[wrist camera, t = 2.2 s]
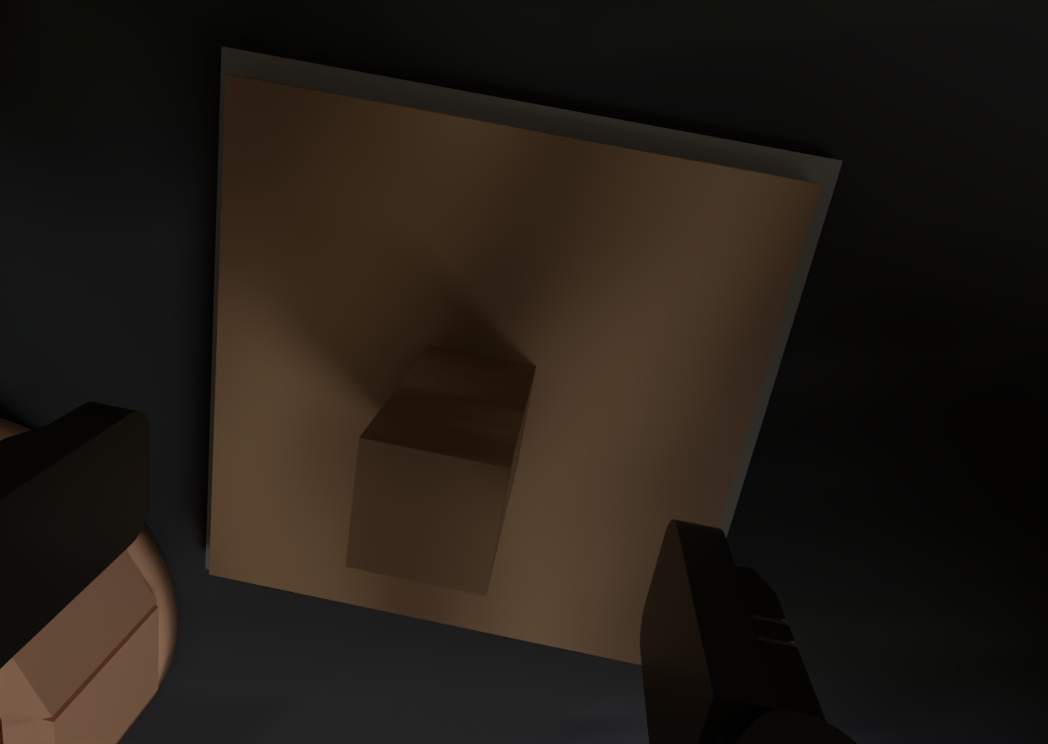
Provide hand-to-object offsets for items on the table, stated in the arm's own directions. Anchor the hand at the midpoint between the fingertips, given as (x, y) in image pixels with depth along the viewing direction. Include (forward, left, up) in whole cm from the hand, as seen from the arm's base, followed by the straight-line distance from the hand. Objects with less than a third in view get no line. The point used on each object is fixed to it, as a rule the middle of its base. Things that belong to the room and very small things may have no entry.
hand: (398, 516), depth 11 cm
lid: (0, 0, -6) cm, 6 cm away
